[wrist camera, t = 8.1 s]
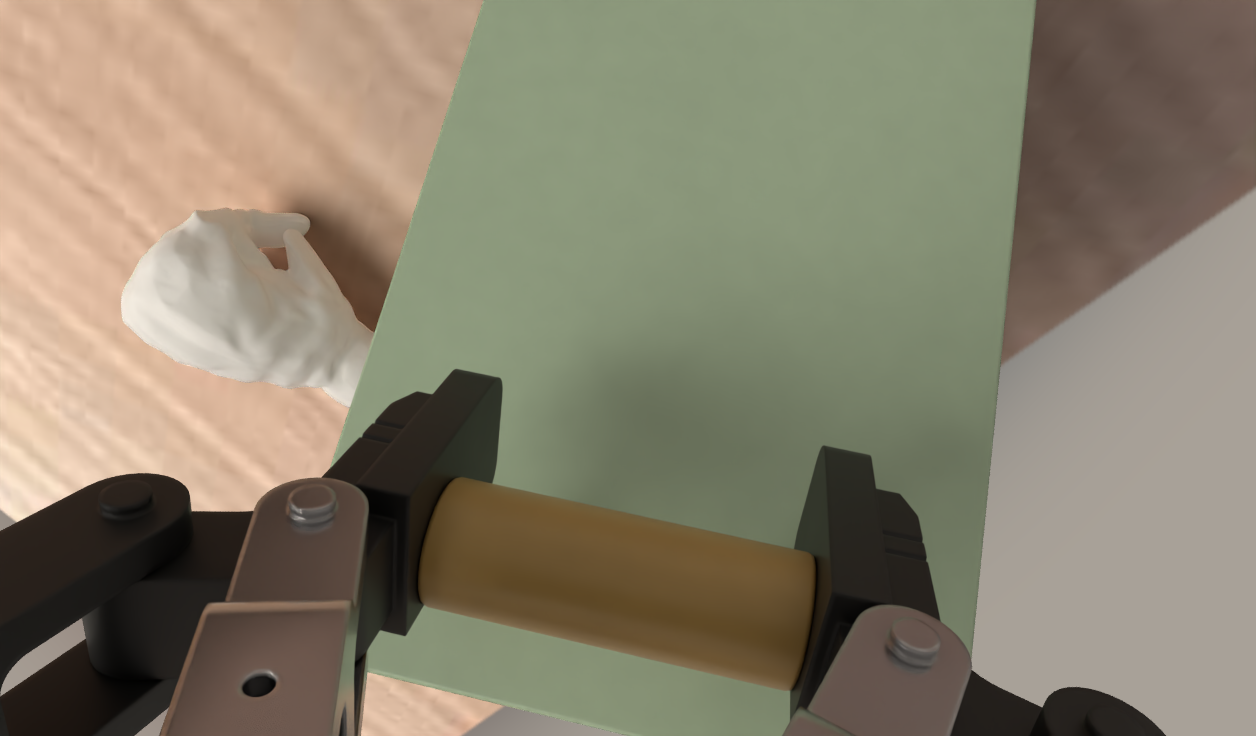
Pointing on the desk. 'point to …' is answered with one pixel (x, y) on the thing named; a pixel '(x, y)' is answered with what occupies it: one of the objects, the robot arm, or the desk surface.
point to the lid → (699, 335)
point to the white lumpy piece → (247, 304)
